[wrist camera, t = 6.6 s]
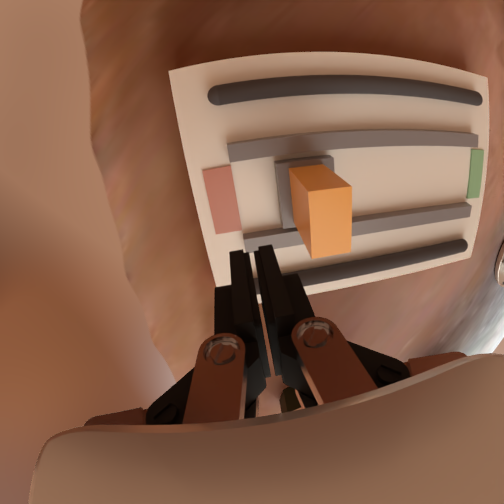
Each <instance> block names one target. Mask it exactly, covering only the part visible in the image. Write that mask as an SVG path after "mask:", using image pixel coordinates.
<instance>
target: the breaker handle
mask: <svg viewBox="0 0 504 504" xmlns="http://www.w3.org/2000/svg"><path fill="white" fill-rule="evenodd" d="M274 167H275V175H276V184H277V192H278V201H279V209H280V219H281V225H282V227H283V229H287V228H294V227H296V228H297V230H298V232H299V234H300V236H301V238H302V240H303V242H304V244H305V246H306V248H307V250H308V252H309V254H310V257H311V259H315V258H321V257H326V256H332V255H338V254H344V253H349V252H351V237H352V186H351V185H350V184H348V183H347V182H346V181H344V180H343V179H342V178H341V177H339V176H338V175H337V174H335V171H334V157H332V156H330V155H320V156H310V157H301V158H293V159H285V160H277V161H274Z"/></svg>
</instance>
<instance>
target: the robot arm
mask: <svg viewBox="0 0 504 504" xmlns="http://www.w3.org/2000/svg"><path fill="white" fill-rule="evenodd" d="M253 252H254V258H255V265H256V271H257V277H258V283H259V289H260V295H261V301H262V307H263V313H264V318H265V323H266V328H267V333H268V338H269V344H270V349H271V354H272V359H273V364H274V369H275V374H276V376H278V375H282V380H283V383H284V384H286V385H288V386H290V387H292V388H294V389H295V393H296V396H297V398H298V400H299V402H300V405H301V407H302V409H300V410H296V411H291V412H285V413H280V414H274V415H268V416H262V417H258V409H259V398H258V396H259V394H260V393H261V392H262V391H263V390H264V389H265V388H266V380H265V378H266V377H271V374H270V368H269V363H268V357H267V351H266V345H265V340H264V334H263V328H262V322H261V317H260V311H259V306H258V300H257V294H256V289H255V283H254V278H253V272H252V266H251V261H250V255H249V252H246V253H244V252H243V249H241V250H236V251H230V252H229V257H230V273H231V285H226V286H220V287H215V306H214V335H213V336H211V337H209V338H208V339H206V340H205V341H204V342H203V343H202V344H201V346H200V348H199V351H198V355H197V359H196V364H195V367H194V368H193V369H192V370H191V371H189V372H188V373H187V374H186V375H185V376H184V377H183V378H181V379H180V380H179V381H178V382H177V383H176V384H175V385H173V386H172V387H171V388H170V389H169V390H168V391H166V392H165V393H164V394H163V395H162V396H160V397H159V398H158V399H157V400H156V401H155V402H153V404H152V405H151V406H150V407H149V408H148V409H144V410H143V408H141V407H140V408H135V409H131V410H126V411H121V412H116V413H110V414H105V415H99V416H95V417H92V418H90V419H89V420H88V421H86V423H85V424H84V426H82V427H76V428H72V429H69V430H65V431H62V432H59V433H57V434H55V435H54V436H52V437H50V438H49V439H48V440H47V441H46V442H45V444H44V445H43V447H42V449H41V451H40V453H39V456H38V459H37V462H36V465H35V469H34V473H33V478H32V482H31V488H30V494H29V503H28V504H504V355H502V354H494V353H489V354H477V355H472V356H467V355H465V354H464V353H461V352H449V353H444V354H438V355H432V356H426V357H419V358H413V359H408V362H404V363H403V362H401V361H399V360H397V359H395V358H393V357H390V356H387V355H384V354H381V353H379V352H376V351H373V350H370V349H368V348H365V347H362V346H360V345H357V344H354V343H352V342H349V341H346V339H345V338H344V336H343V335H342V333H341V332H340V330H339V329H338V328H337V326H336V325H335V324H334V323H333V322H332V321H330V320H328V319H326V318H322V317H315V315H314V313H313V310H312V307H311V305H310V302H309V300H308V297H307V295H306V292H305V290H304V287H303V285H302V282H301V280H300V277H299V275H298V273H294V274H289V275H283V276H282V274H281V271H280V267H279V264H278V261H277V258H276V255H275V252H274V249H273V246H272V244H270V245H264V246H259V247H258V250H257V251H253ZM495 279H496V281H497V283H498V284H499V285H500V286H502V287H504V243H503V245H502V247H501V250H500V252H499V255H498V258H497V262H496V266H495Z"/></svg>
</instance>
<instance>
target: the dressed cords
mask: <svg viewBox="0 0 504 504" xmlns="http://www.w3.org/2000/svg"><path fill="white" fill-rule="evenodd" d="M319 94H382V95H399V96H412V97H422V98H431V99H438V100H446V101H452V102H458V103H464V104H469V105H475V106H480V105H481V104H482V102H483V98H482V96H481V94H480V93H479V92H477V91H473V90H469V89H464V88H460V87H455V86H450V85H445V84H440V83H434V82H427V81H421V80H413V79H405V78H395V77H384V76H368V75H302V76H286V77H274V78H264V79H255V80H247V81H240V82H233V83H227V84H221V85H216V86H213V87H212V88H210V90H209V91H208V94H207V97H208V100H209V102H210V103H212V104H213V105H217V106H219V105H225V104H231V103H238V102H245V101H252V100H260V99H268V98H277V97H288V96H301V95H319ZM467 248H468V243H467V241H466V240H465V239H458V240H453V241H449V242H444V243H439V244H435V245H430V246H425V247H420V248H415V249H410V250H406V251H401V252H396V253H391V254H385V255H380V256H375V257H370V258H365V259H359V260H354V261H349V262H343V263H338V264H333V265H327V266H321V267H316V268H310V269H304V270H299V271H293V272H287V273H281V274H282V276H283V275H289V274H294V273H298V275H299V277H300V280H301V282H302V285H303V287H305V286H310V285H316V284H321V283H326V282H332V281H337V280H342V279H347V278H352V277H357V276H362V275H367V274H371V273H376V272H381V271H385V270H390V269H395V268H399V267H403V266H408V265H412V264H417V263H421V262H425V261H429V260H434V259H438V258H442V257H446V256H450V255H454V254H458V253H462V252H465V251H466V250H467ZM254 283H255V289H256V294H257V295H258V294H260V289H259V283H258V277H257V278H254Z"/></svg>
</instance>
